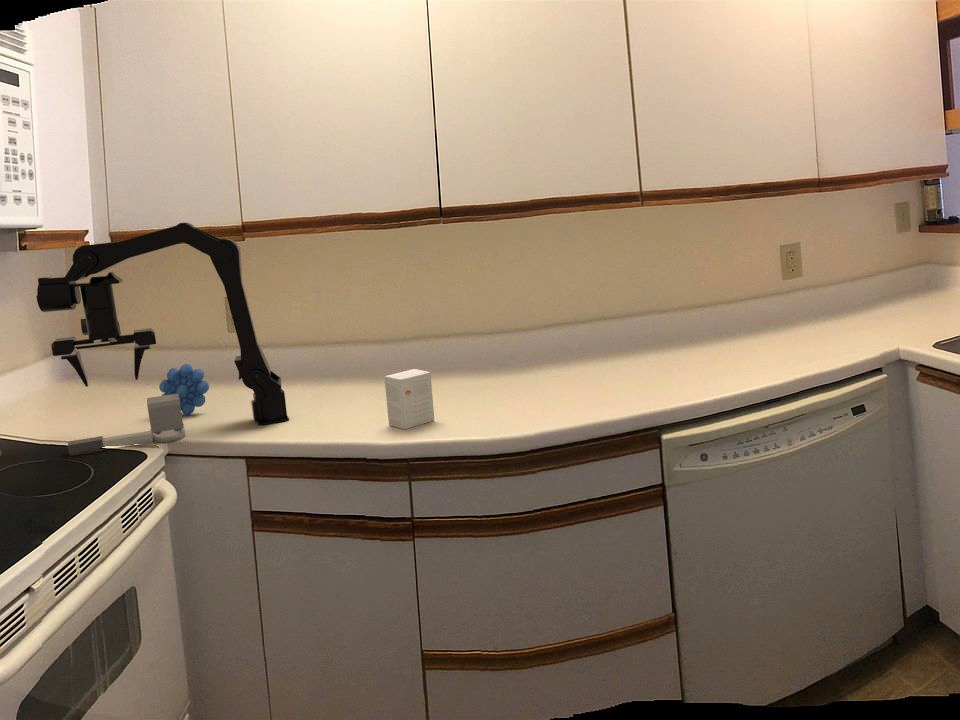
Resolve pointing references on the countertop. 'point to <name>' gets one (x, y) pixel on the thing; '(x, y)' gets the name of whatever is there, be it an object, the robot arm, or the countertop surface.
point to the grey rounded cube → (164, 413)
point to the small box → (409, 398)
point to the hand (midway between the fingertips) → (112, 382)
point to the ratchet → (126, 440)
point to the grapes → (186, 387)
